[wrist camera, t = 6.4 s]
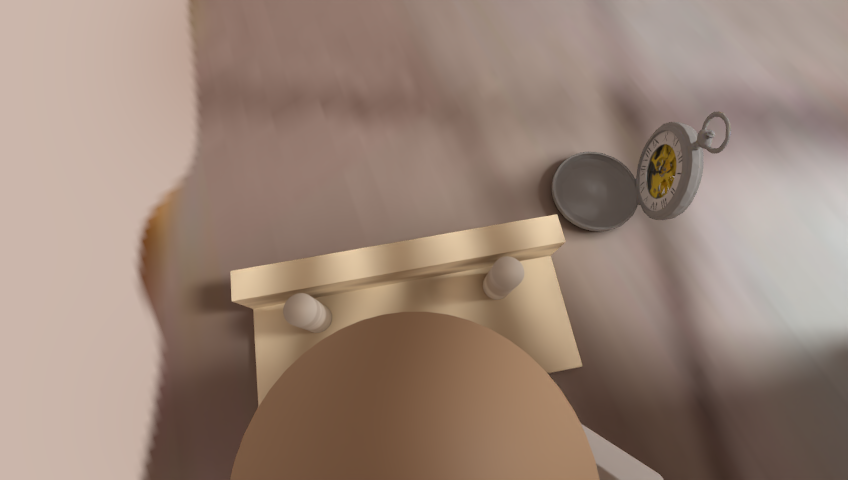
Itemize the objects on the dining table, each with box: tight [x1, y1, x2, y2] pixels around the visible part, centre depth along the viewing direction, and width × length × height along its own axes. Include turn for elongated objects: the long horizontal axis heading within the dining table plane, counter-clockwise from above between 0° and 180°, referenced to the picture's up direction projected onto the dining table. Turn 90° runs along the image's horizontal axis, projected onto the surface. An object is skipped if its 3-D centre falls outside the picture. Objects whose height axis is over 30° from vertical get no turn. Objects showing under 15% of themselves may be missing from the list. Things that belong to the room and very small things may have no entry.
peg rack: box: [231, 214, 582, 407], centre depth 27 cm, size 22×10×5 cm, turn 100°
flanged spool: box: [230, 312, 600, 480], centre depth 11 cm, size 7×7×11 cm
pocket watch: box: [552, 112, 731, 231], centre depth 27 cm, size 8×8×10 cm
